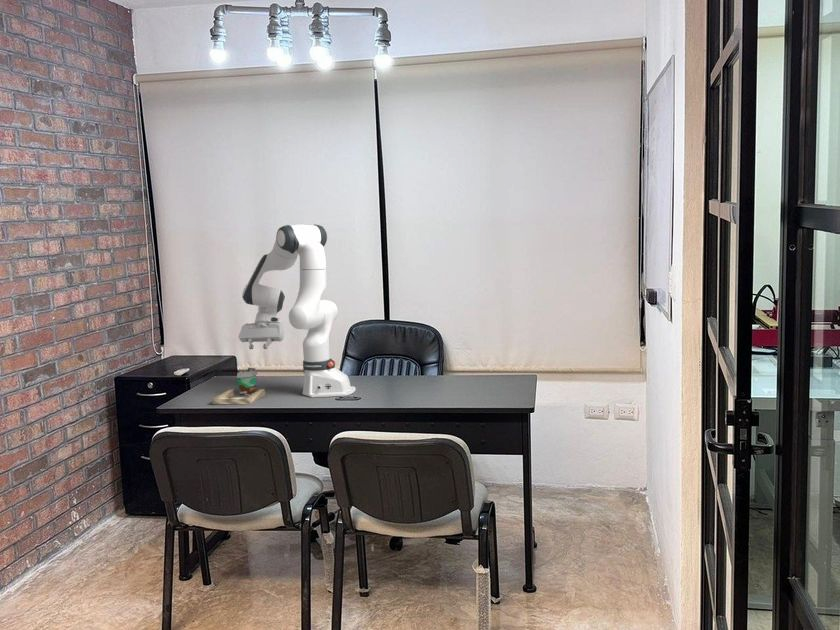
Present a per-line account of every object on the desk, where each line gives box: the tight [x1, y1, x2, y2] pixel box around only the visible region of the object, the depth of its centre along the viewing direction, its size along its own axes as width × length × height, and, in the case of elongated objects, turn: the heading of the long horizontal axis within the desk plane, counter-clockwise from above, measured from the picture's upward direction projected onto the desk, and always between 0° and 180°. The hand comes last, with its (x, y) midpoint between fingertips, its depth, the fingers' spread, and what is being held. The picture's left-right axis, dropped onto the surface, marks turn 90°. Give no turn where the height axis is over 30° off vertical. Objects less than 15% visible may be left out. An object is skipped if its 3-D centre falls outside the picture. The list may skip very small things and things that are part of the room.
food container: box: [236, 367, 258, 396], centre depth 352 cm, size 12×6×10 cm, turn 168°
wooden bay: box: [211, 388, 266, 405], centre depth 340 cm, size 16×17×2 cm
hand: (257, 348), depth 361 cm, fingers open, 5 cm apart
